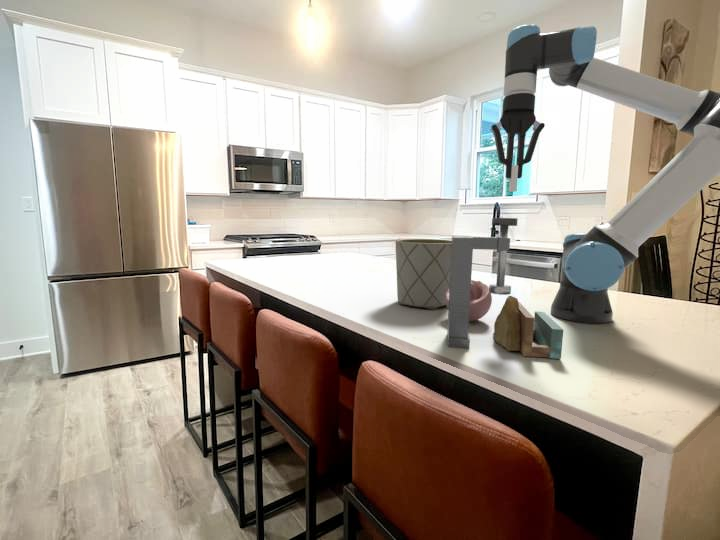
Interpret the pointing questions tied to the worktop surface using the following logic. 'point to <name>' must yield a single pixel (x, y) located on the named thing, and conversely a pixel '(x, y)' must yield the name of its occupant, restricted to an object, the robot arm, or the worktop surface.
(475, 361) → the worktop surface
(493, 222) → the ram
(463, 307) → the press frame
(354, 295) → the worktop surface
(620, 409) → the worktop surface
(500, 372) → the worktop surface
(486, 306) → the mortar and pestle
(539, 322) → the frame
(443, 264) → the planter
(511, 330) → the rock
